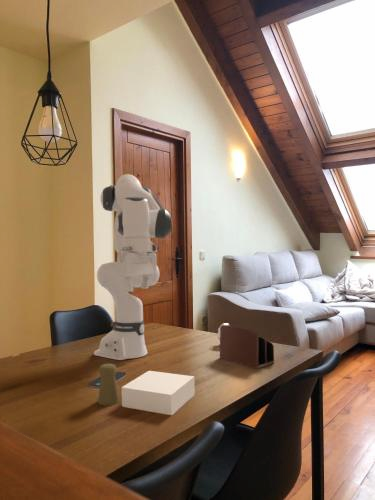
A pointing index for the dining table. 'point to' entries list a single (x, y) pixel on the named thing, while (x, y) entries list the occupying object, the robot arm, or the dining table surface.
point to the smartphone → (97, 381)
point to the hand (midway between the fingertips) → (137, 289)
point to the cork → (108, 385)
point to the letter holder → (245, 347)
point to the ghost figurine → (219, 330)
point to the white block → (158, 392)
